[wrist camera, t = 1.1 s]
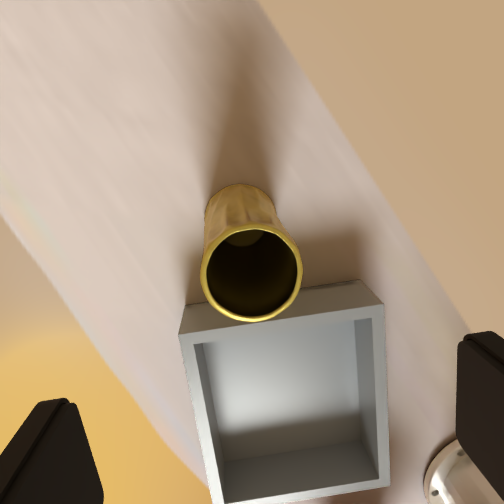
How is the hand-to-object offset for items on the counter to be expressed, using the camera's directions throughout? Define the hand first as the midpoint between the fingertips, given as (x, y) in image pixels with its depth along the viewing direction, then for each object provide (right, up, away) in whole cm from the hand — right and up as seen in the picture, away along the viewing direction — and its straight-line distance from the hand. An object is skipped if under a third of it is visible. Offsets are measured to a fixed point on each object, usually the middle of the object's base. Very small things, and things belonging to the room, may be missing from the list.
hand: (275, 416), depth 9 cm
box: (+3, -8, +28) cm, 29 cm away
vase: (-2, +7, +24) cm, 25 cm away
